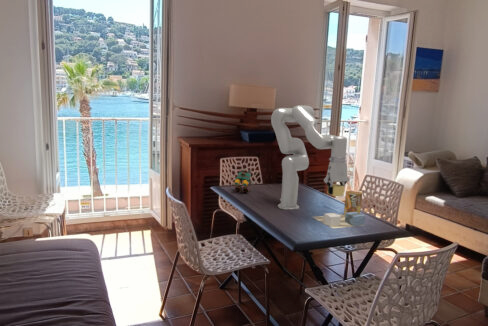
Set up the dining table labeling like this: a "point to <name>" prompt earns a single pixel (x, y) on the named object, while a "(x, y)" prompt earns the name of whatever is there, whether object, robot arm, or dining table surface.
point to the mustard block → (337, 190)
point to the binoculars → (245, 178)
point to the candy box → (353, 201)
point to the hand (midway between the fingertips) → (335, 193)
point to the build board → (342, 222)
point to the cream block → (332, 219)
